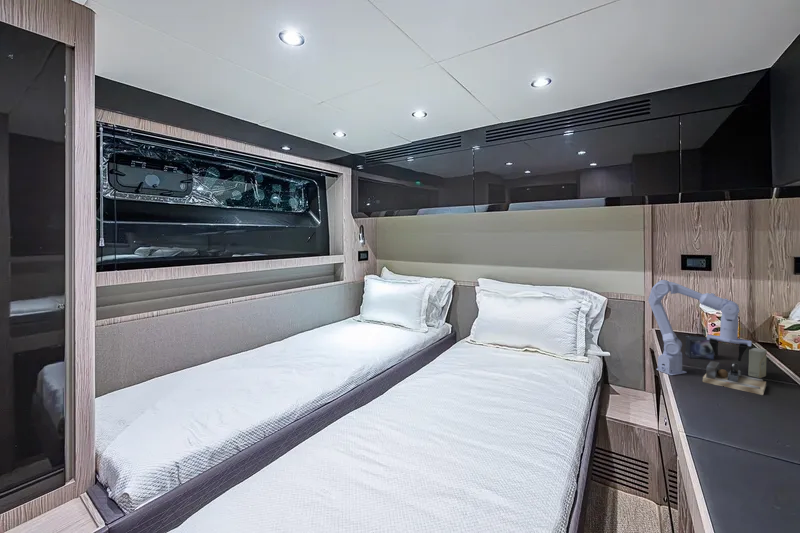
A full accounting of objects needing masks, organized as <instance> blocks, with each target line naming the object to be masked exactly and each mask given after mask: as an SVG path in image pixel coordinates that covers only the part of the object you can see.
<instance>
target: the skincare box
mask: <svg viewBox="0 0 800 533" xmlns="http://www.w3.org/2000/svg"><path fill="white" fill-rule="evenodd" d="M767 351H768V350H767V349H764V348H760V347H759V348H757V347H753V348H751V349H749V350H748V369H747V371H748V373H747V375H748V377H752V378H758V379H762V378H765V377H766V376H767V355H768V354H767V353H768V352H767Z"/></svg>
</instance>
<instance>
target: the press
mask: <svg viewBox="0 0 800 533" xmlns="http://www.w3.org/2000/svg"><path fill="white" fill-rule="evenodd" d="M705 369H706V370H705V372H706V373H705V374H704V375H703V376H702V383H705V384H710V385H714V386H721V387H723V386H724V388H727V389H728V388H729V389H733V390H737V391H743V392H748V393H752V394H756V395H759V396H760V395H761V396H764V393H765V390H766V387H767V381H764V379H762V378H757V377H752V376H747V375H741V376H740V379H739V381H738V382H734V381H729V380H728V374H729V372H728V371H727V370H726V369H722V368H721V369H720V362H719V361H714V360H710V361H709V363H708V364H707V365H706V368H705Z"/></svg>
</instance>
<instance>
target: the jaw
mask: <svg viewBox="0 0 800 533" xmlns="http://www.w3.org/2000/svg"><path fill="white" fill-rule="evenodd" d="M739 366H740V365H739V363H738V362H730V369H729V370H730V371H729V372H728V373H729V374H728V380H729V381H734V382H738V381H739V379H740V376H741V372H742V371H741V370H740V369H739Z"/></svg>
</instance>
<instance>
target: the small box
mask: <svg viewBox="0 0 800 533" xmlns="http://www.w3.org/2000/svg"><path fill="white" fill-rule="evenodd" d="M684 352H685V353H684V354H685V356H687V358H689V359H695V360H696V359H697V360H708V361H709V360H710V361H714V360H715V354H714V351H713V348H712V346H711V344H710V340H707V336H695V335H694V336H692V335H685V351H684Z"/></svg>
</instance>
